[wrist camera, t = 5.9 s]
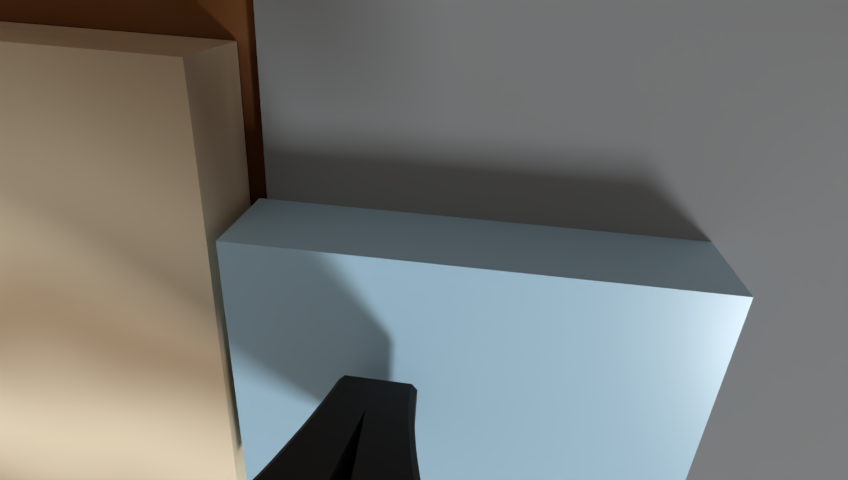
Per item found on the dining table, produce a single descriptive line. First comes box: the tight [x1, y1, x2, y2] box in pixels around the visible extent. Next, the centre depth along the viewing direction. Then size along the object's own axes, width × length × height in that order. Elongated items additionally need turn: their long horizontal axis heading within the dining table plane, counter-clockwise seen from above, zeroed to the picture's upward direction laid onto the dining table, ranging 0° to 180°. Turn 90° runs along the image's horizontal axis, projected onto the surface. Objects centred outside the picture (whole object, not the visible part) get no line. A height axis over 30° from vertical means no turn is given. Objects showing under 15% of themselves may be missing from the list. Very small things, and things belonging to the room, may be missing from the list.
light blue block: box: [216, 198, 753, 480], centre depth 12 cm, size 9×6×2 cm, turn 87°
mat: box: [253, 0, 848, 480], centre depth 12 cm, size 18×14×1 cm
